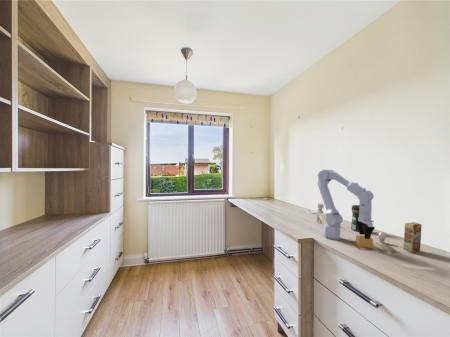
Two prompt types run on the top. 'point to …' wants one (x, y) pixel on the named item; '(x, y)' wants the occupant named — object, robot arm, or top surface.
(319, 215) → the hammer
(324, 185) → the robot arm
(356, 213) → the coffee jar
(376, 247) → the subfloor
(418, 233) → the candy box
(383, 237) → the stepped metal cylinder
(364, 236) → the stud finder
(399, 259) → the top surface
